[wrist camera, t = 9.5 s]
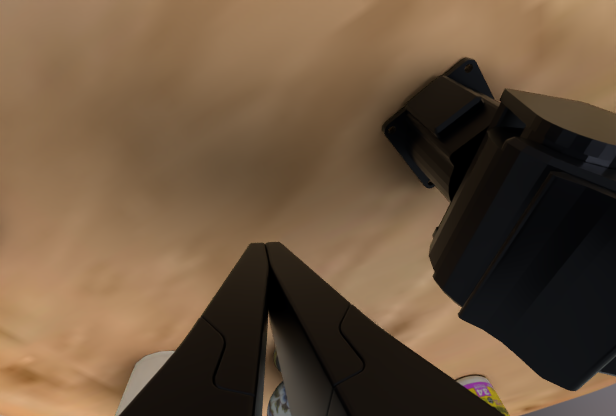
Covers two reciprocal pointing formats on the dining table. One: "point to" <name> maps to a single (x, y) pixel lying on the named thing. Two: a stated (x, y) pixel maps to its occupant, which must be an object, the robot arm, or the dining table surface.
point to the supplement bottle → (483, 391)
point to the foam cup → (142, 376)
